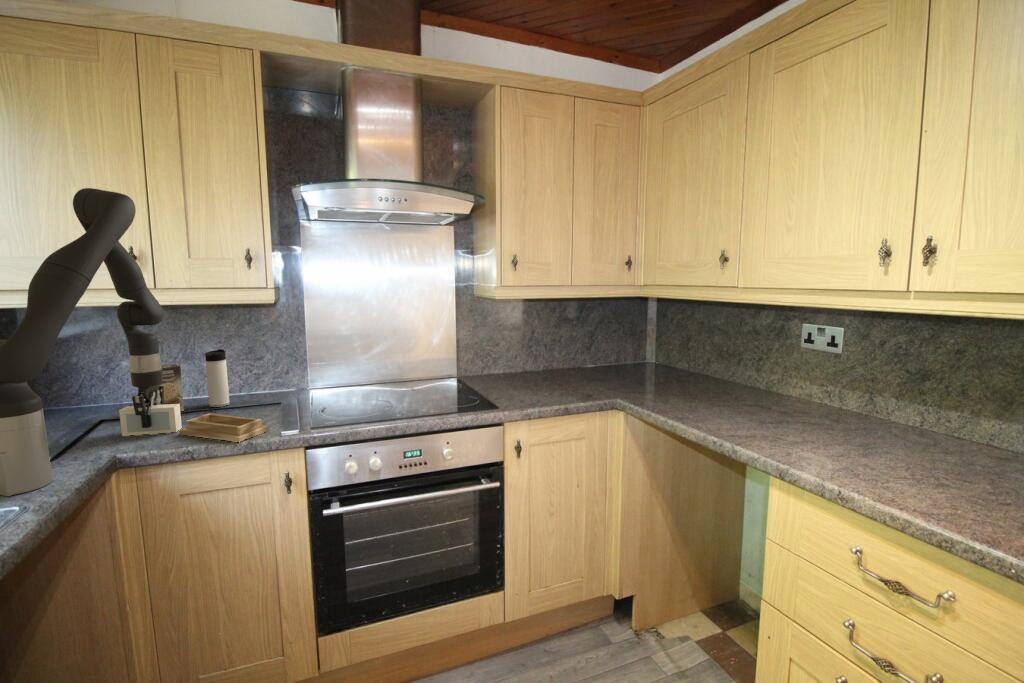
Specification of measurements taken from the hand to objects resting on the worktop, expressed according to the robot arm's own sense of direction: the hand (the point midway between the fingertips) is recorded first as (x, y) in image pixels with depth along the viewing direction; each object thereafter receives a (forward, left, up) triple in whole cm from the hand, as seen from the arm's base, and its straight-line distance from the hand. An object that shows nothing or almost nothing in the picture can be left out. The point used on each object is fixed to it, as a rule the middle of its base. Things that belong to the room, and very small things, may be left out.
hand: (152, 424), depth 146 cm
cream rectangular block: (0, 0, -3) cm, 3 cm away
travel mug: (+29, +6, -3) cm, 29 cm away
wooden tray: (+6, -21, -2) cm, 22 cm away
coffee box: (+16, +15, -3) cm, 22 cm away
